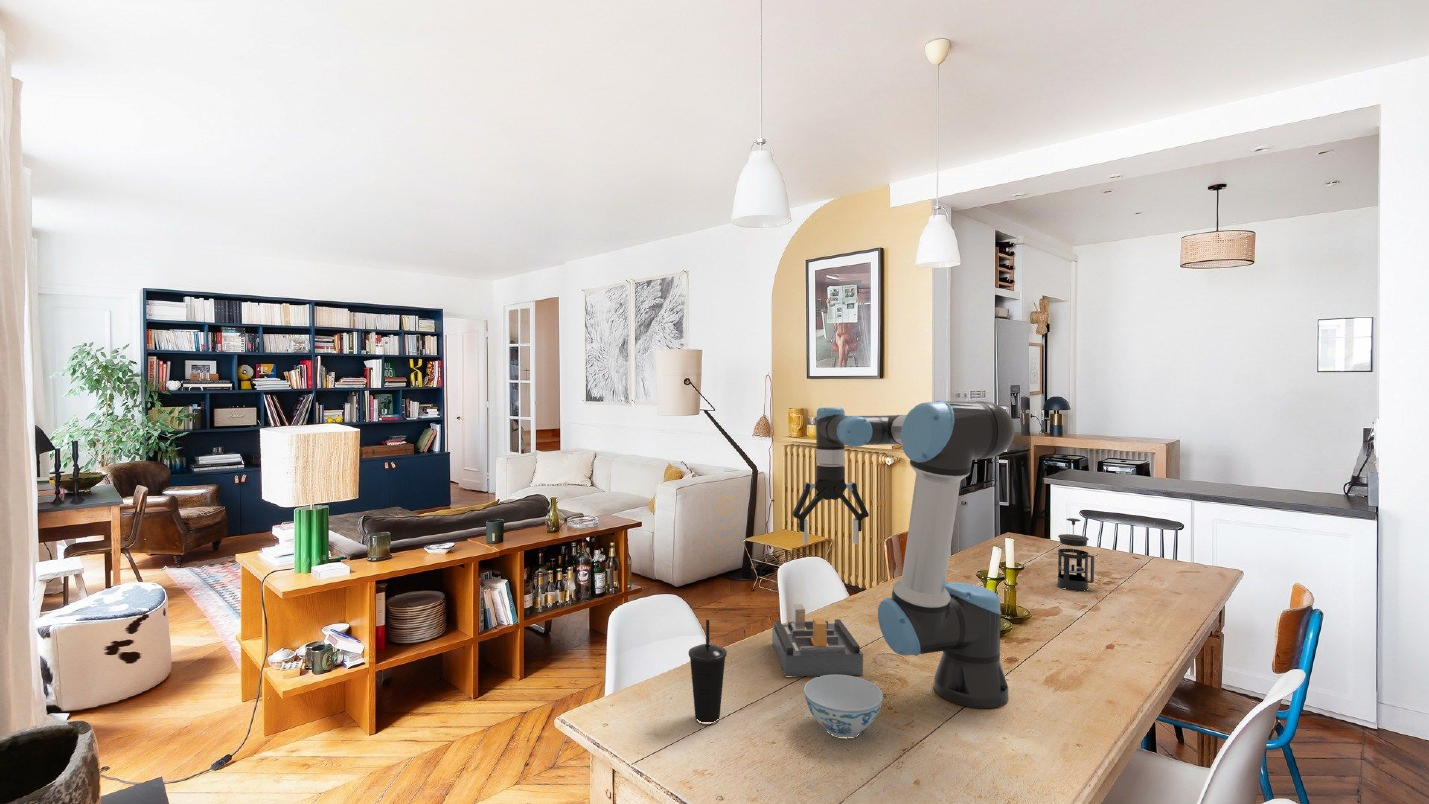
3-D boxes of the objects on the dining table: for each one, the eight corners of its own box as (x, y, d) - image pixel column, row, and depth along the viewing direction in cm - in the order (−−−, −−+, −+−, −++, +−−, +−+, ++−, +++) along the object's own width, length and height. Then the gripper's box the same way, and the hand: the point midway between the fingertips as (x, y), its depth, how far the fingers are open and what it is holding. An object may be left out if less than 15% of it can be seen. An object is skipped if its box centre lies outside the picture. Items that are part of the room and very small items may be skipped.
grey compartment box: (862, 675, 154) (863, 627, 153) (785, 677, 152) (785, 629, 152) (840, 642, 174) (840, 600, 173) (772, 643, 172) (772, 601, 172)
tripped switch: (828, 649, 156) (828, 624, 155) (815, 649, 155) (815, 624, 155) (823, 641, 160) (824, 617, 160) (810, 641, 160) (811, 617, 160)
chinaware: (788, 730, 129) (788, 690, 129) (833, 704, 140) (833, 668, 139) (853, 761, 118) (854, 718, 118) (897, 730, 129) (897, 691, 129)
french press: (1049, 585, 223) (1050, 517, 223) (1063, 581, 229) (1064, 514, 228) (1085, 594, 214) (1086, 523, 213) (1099, 589, 219) (1100, 520, 219)
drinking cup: (693, 731, 128) (693, 628, 128) (684, 712, 136) (684, 615, 135) (731, 726, 130) (731, 625, 130) (720, 707, 138) (720, 612, 137)
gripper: (872, 463, 182) (872, 540, 183) (782, 463, 182) (782, 540, 182) (880, 466, 175) (880, 546, 175) (786, 466, 174) (786, 547, 174)
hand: (830, 543), depth 179 cm, fingers open, 13 cm apart
